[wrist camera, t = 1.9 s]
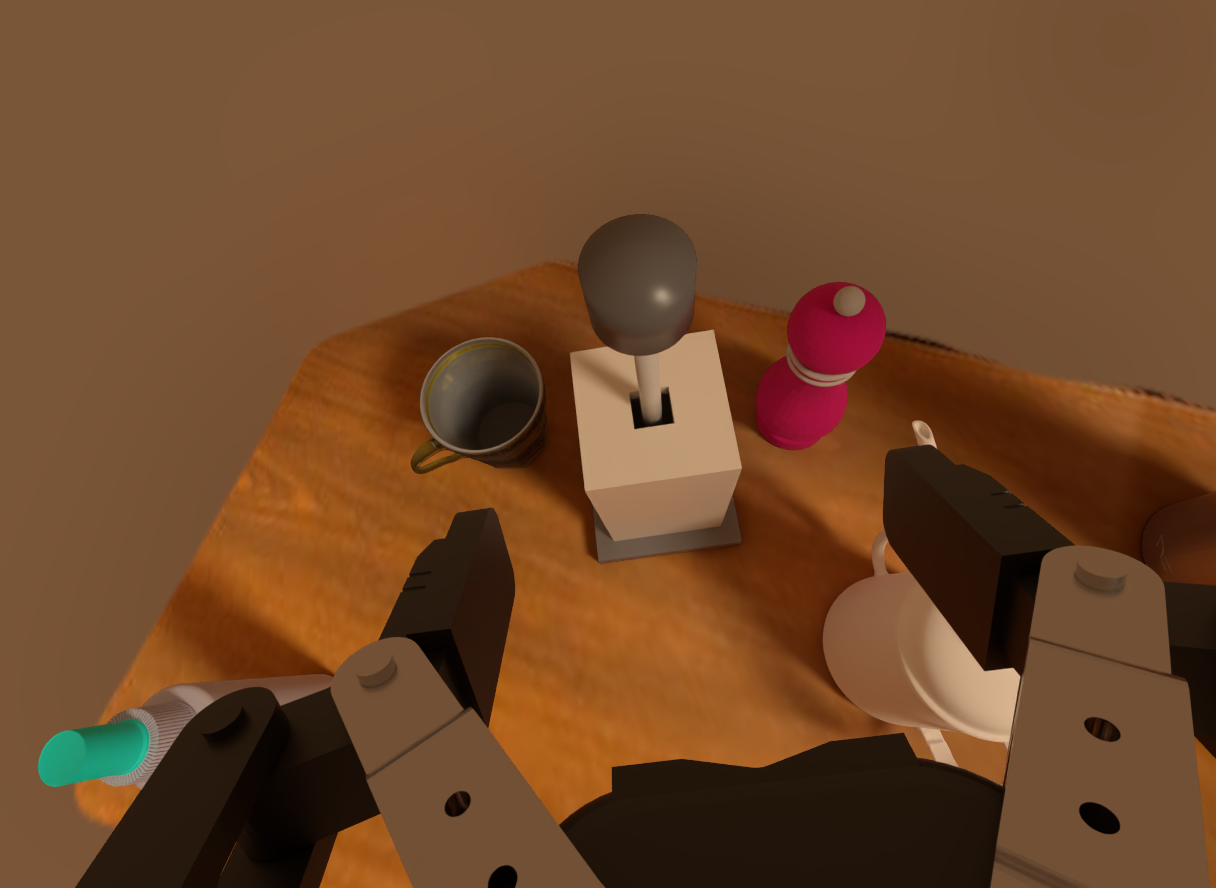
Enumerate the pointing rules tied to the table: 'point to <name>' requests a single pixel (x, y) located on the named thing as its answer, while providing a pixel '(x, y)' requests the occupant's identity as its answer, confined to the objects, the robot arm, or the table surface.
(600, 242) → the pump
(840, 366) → the pepper mill
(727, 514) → the dispenser
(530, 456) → the ceramic cup
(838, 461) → the table surface
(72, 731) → the spray bottle
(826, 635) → the coffeepot
